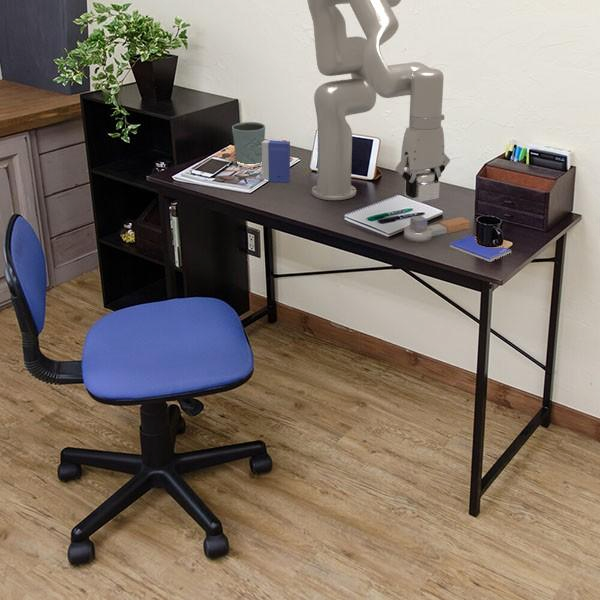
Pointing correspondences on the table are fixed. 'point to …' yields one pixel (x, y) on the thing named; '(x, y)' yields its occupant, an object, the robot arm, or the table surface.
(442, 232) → the ratchet
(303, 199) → the table surface
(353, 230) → the table surface
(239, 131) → the green tapered cup
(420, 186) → the frosted rounded block
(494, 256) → the blue flat block
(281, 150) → the walkman
